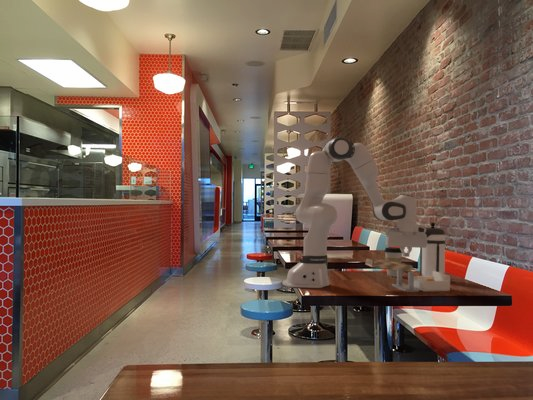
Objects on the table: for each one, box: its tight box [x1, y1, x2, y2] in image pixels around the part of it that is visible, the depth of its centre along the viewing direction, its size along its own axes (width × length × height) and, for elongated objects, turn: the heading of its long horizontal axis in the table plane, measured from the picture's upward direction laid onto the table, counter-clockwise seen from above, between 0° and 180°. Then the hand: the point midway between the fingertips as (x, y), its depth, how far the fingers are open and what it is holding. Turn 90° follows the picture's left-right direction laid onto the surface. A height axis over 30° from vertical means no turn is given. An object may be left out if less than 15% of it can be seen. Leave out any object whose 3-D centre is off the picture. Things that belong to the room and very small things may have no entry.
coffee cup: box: [384, 247, 403, 278], centre depth 229 cm, size 10×10×15 cm
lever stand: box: [391, 270, 420, 293], centre depth 194 cm, size 6×15×8 cm, turn 8°
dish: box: [414, 271, 451, 292], centre depth 195 cm, size 13×14×7 cm
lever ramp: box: [365, 258, 417, 274], centre depth 197 cm, size 25×16×4 cm, turn 98°
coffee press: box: [418, 222, 447, 276], centre depth 219 cm, size 17×16×30 cm
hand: (405, 256), depth 203 cm, fingers closed
